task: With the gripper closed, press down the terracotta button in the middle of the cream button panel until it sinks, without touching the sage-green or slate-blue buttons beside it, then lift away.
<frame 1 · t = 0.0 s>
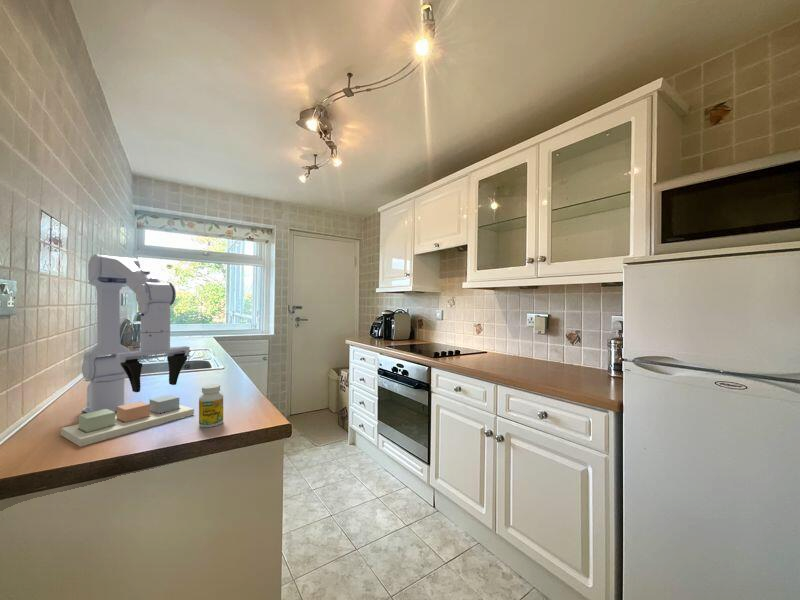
hand: (155, 387, 78), 10 cm above the countertop, tool pointing down, fingers open, 7 cm apart
terracotta button: (133, 411, 82), point 3 cm above the countertop, slide at 0.0 cm
sage button: (97, 419, 76), point 3 cm above the countertop, slide at 0.0 cm
supplement bottle: (211, 424, 82), on the countertop
slate button: (164, 403, 88), point 3 cm above the countertop, slide at 0.0 cm
panel: (133, 423, 82), on the countertop
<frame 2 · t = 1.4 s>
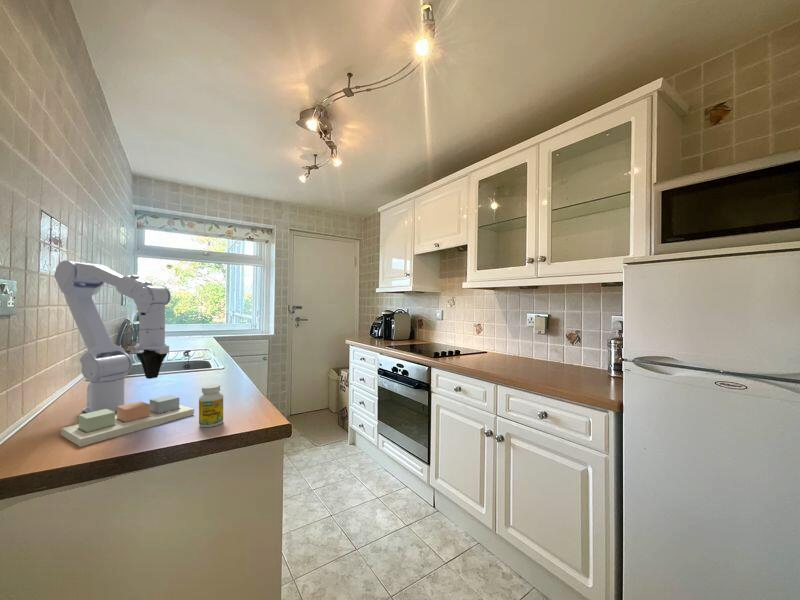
hand: (151, 377, 90), 10 cm above the countertop, tool pointing down, fingers closed
nothing on the countertop moved.
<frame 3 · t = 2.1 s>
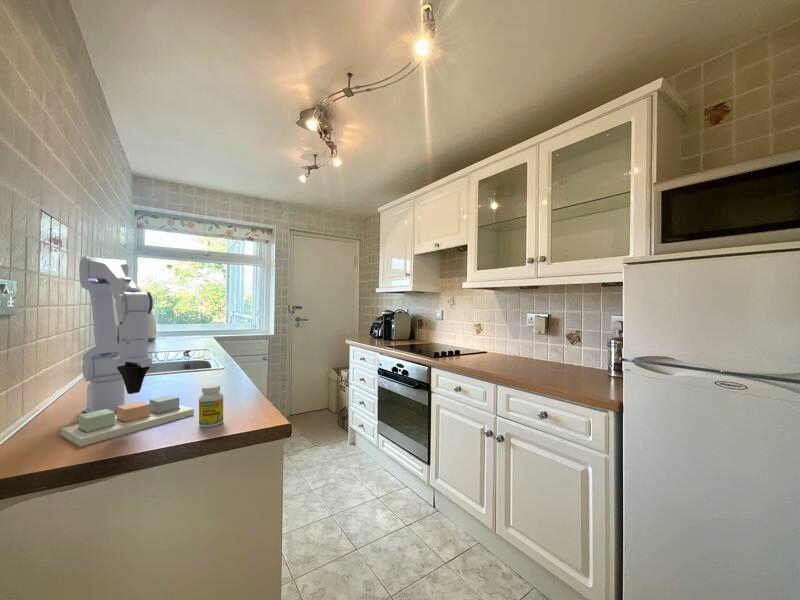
hand: (133, 392, 82), 8 cm above the countertop, tool pointing down, fingers closed
nothing on the countertop moved.
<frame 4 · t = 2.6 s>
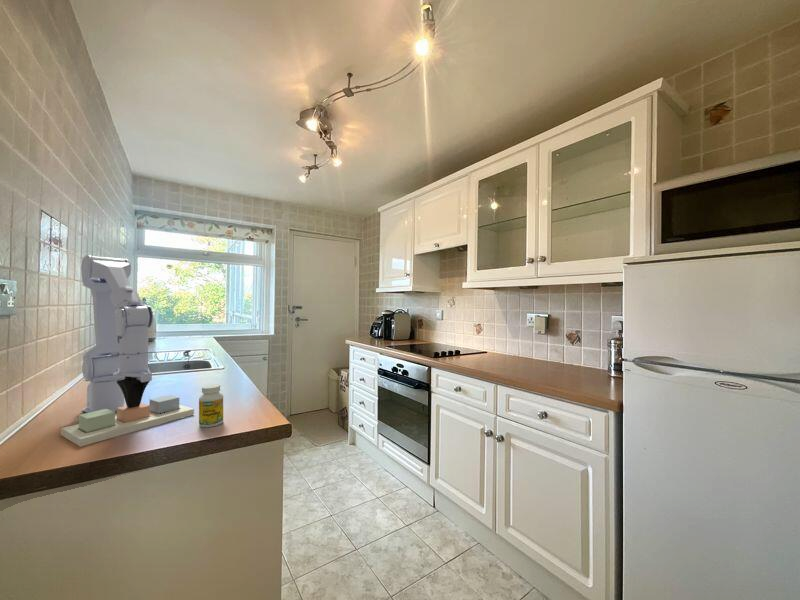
hand: (133, 406, 82), 4 cm above the countertop, tool pointing down, fingers closed, pressing on terracotta button
terracotta button: (133, 412, 82), point 3 cm above the countertop, slide at -0.4 cm, touching gripper
everything else where it was.
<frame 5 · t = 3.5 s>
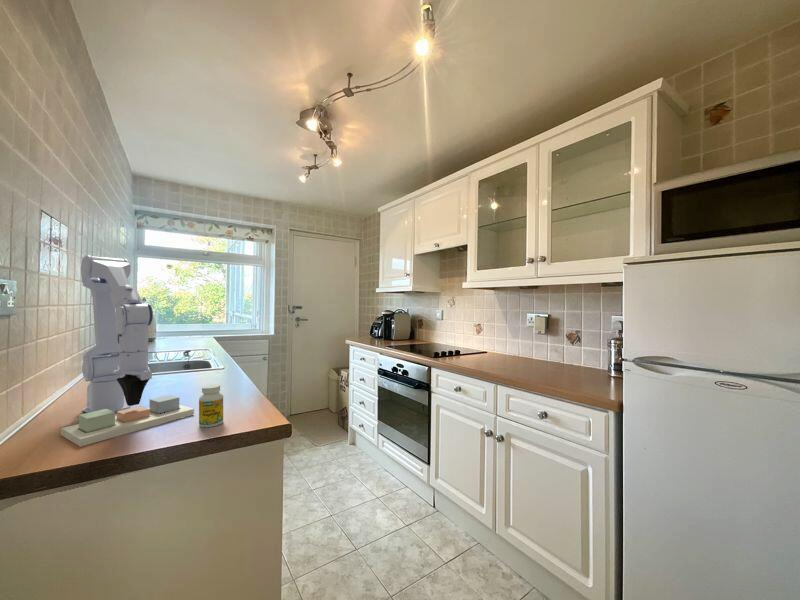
hand: (133, 404, 82), 5 cm above the countertop, tool pointing down, fingers closed
terracotta button: (133, 416, 82), point 2 cm above the countertop, slide at -1.2 cm
everything else where it was.
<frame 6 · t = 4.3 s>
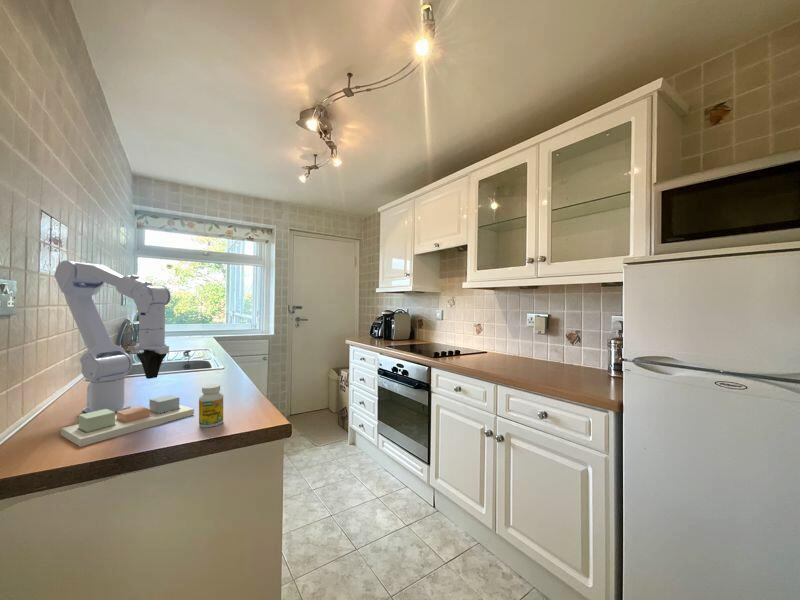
hand: (151, 377, 90), 10 cm above the countertop, tool pointing down, fingers closed
nothing on the countertop moved.
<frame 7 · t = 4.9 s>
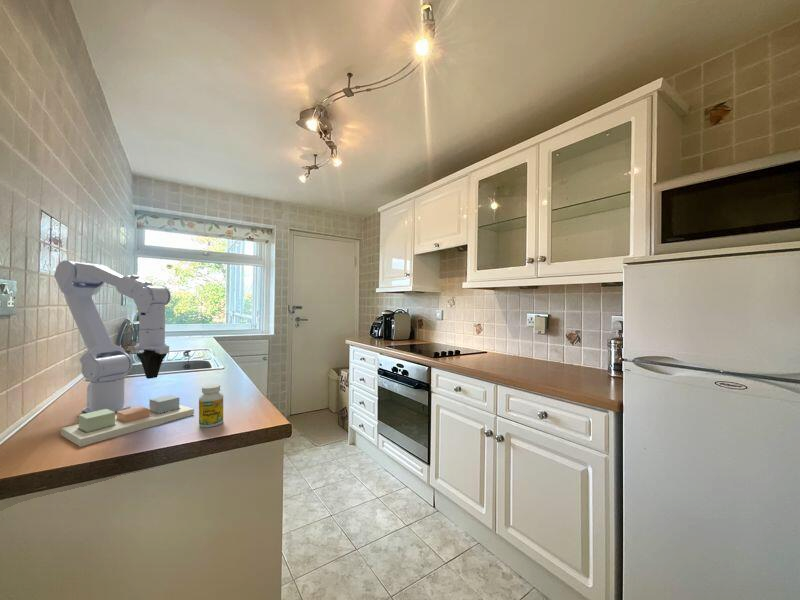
hand: (151, 377, 90), 10 cm above the countertop, tool pointing down, fingers closed
nothing on the countertop moved.
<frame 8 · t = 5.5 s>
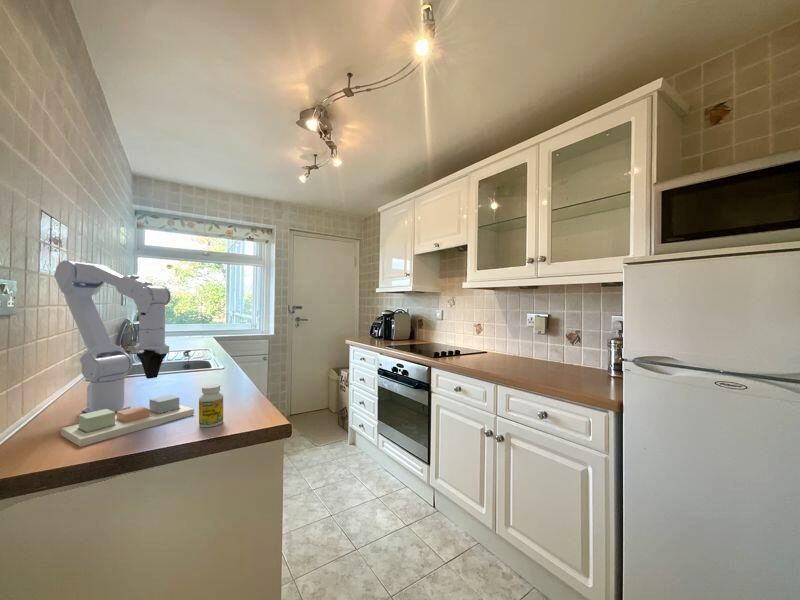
hand: (151, 377, 90), 10 cm above the countertop, tool pointing down, fingers closed
nothing on the countertop moved.
at the end: terracotta button slide at -1.2 cm; sage button slide at 0.0 cm; slate button slide at 0.0 cm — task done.
